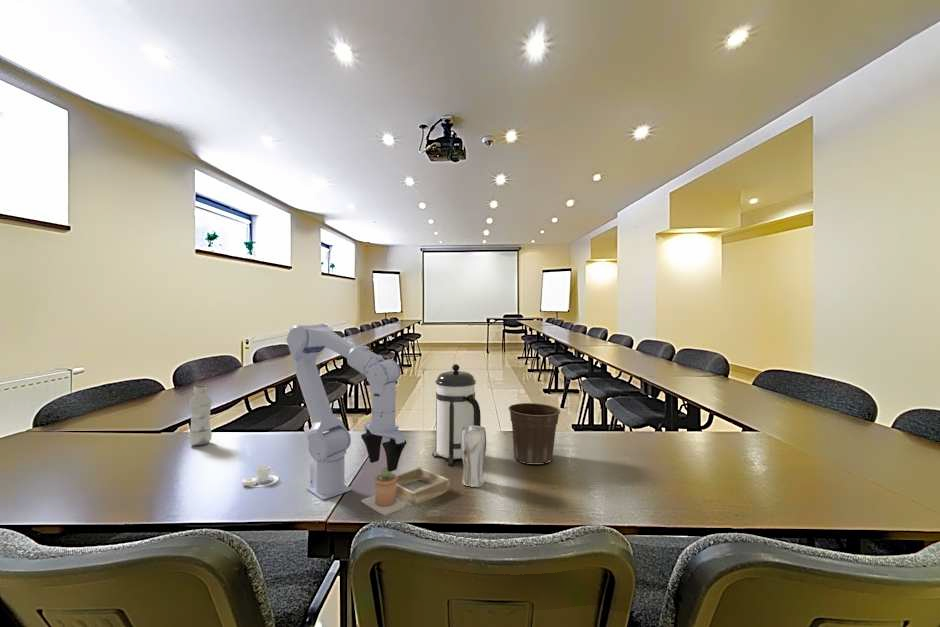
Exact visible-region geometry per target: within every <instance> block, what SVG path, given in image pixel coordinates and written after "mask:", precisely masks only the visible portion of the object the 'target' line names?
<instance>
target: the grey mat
mask: <svg viewBox="0 0 940 627" xmlns="http://www.w3.org/2000/svg"><path fill="white" fill-rule="evenodd" d="M360 502H361V503H362V504H364V505H366V506H367V507H369V508H371V509H372V510H374V511H376V512H377V513H378V514H381V515H382V516H384V517H386V516H388V515H390V514H393V513H395V512H398V511H400V510H402V509H404V508H406V505H405V504H403V503H401V502H400V501H398V500H396V503H395V504H394V505H391V506H388V507H380V506H377V505H376V504H375V494H374V495H371V496H368V497H366V498H363V499H361V501H360Z"/></svg>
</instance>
